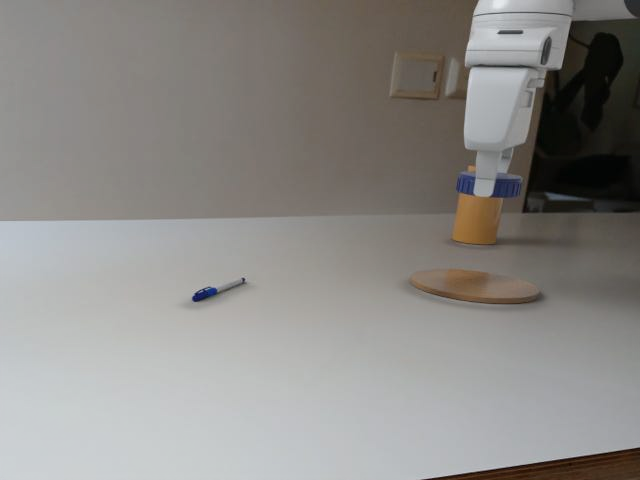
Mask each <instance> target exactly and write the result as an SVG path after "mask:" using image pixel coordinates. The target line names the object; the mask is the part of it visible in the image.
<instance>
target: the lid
mask: <svg viewBox="0 0 640 480" xmlns="http://www.w3.org/2000/svg"><path fill="white" fill-rule="evenodd" d="M496 178H497V181H496V186H495V191H494V193H493V194H492V195H491V196H490V197H493V198H504V199H511V198H513V199H514V198H518V197H519V196H521V192H522V186H523V176H521V175H518V174H513V173H508V172H507V173H499V172H497V177H496ZM475 180H476V171H468V170H465V171H459V174H458V177H457V181H456V186H455V191H456V192H457V193H458V194H459V193H463V194H467V195H473V196H476V195H474V186H475Z"/></svg>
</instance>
